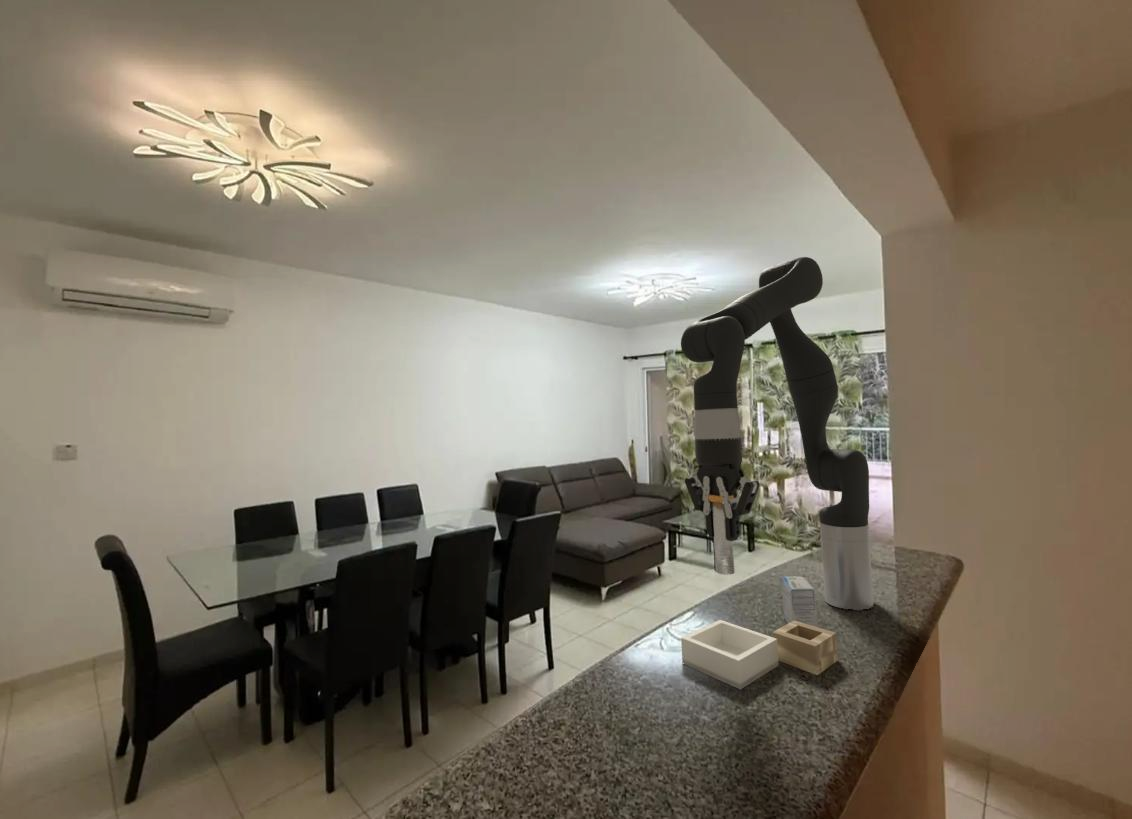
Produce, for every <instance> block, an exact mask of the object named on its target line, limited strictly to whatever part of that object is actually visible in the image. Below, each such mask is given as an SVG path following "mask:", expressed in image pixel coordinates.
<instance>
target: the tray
mask: <svg viewBox="0 0 1132 819" xmlns="http://www.w3.org/2000/svg"><path fill="white" fill-rule="evenodd" d="M680 642H681V661H682V664H683V663H684V664H683V665H685V664H686V665H685V666H687V665H688V666H687V667H690V668H691V669H694V670H696V671H699V672H701V673H703V674H705V675H707V676H709V677H712V678H714V679H716V680H719V681H720V682H723V683H725V684H727V685H729V686H731V687H734V688H736V689H738V690H739V691H741V690H742V689H743V688H745V687H747V686H748V685H750V684H752V683H753V682H755V681H756V680H759V678H761V677H763V676H764V675H766V674H767V673H769V672H770V671H772V670H774V669H776V668H777V667H778V666H779V665H780V664H779V662H780V661H778V645H777V639H776V638H773V636H769V635H766V634H764V633H761V632H758V631H755V630H752V629H749V628H745V627H743V626H740V625H736V624H735V623H731V622H729V621H728V622H727V621H725V620H722V619H719V620H717V621H714V622H712V623H710V624H707V625H706V626H704V627H701V628H699V629H697V630H695V631H693V632H690V633H688V634H686V635H684V636H682V637H680Z"/></svg>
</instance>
